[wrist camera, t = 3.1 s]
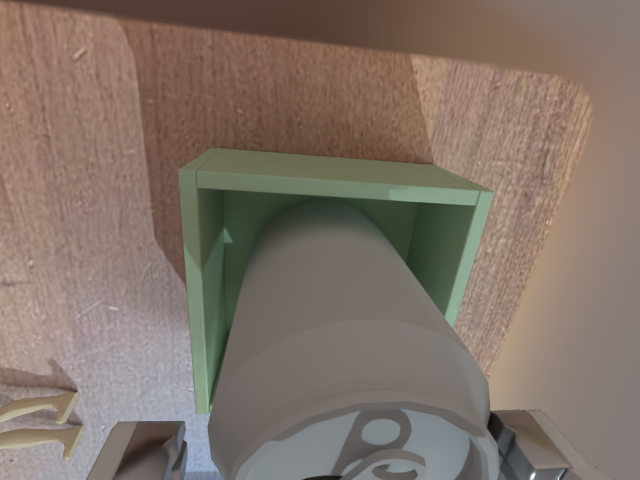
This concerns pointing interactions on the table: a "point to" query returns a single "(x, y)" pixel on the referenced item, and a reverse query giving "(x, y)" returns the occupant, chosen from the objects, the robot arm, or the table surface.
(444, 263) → the bin
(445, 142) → the table surface
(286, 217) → the can
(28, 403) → the fairy figurine
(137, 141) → the table surface
